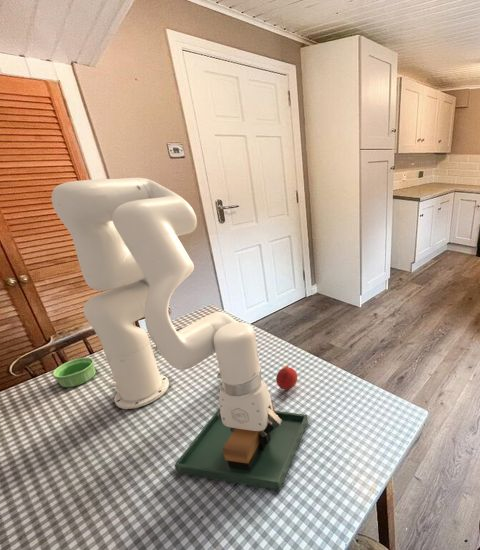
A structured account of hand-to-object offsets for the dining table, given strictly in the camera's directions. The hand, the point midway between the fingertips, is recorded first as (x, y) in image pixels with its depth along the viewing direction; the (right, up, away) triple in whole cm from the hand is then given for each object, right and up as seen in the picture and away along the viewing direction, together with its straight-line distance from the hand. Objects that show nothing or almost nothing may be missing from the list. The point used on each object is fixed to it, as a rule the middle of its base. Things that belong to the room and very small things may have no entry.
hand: (253, 441), depth 70 cm
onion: (+3, +5, +18) cm, 19 cm away
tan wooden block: (0, 0, 0) cm, 0 cm away
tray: (-2, -1, +1) cm, 2 cm away
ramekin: (-61, +7, +21) cm, 65 cm away
